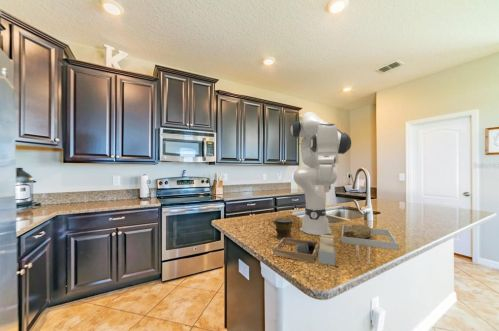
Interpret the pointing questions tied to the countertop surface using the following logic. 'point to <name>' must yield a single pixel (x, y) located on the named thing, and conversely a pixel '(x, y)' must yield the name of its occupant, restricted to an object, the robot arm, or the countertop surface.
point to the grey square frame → (373, 243)
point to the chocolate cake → (305, 248)
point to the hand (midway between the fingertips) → (327, 190)
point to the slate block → (327, 257)
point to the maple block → (327, 243)
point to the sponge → (358, 231)
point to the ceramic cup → (283, 227)
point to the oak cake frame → (295, 254)
